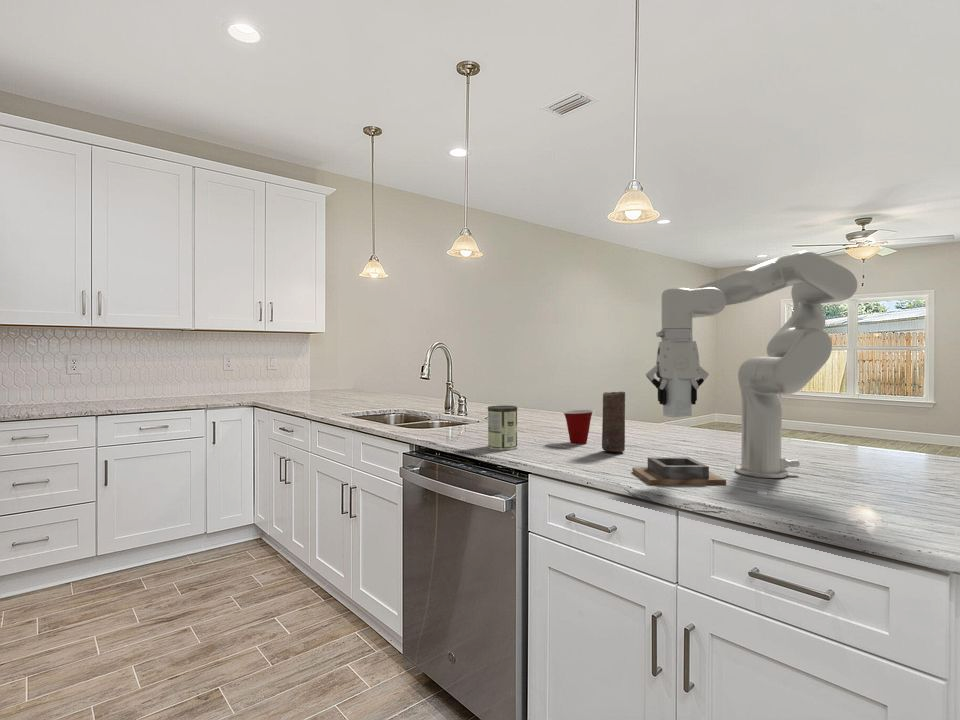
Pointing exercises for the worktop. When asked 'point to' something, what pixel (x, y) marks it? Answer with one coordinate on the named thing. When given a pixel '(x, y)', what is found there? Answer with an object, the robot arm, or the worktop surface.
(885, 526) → the worktop surface
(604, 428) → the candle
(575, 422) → the plastic cup
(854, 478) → the worktop surface
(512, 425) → the coffee can
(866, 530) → the worktop surface
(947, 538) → the worktop surface
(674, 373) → the skincare box
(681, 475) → the holder
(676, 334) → the robot arm
